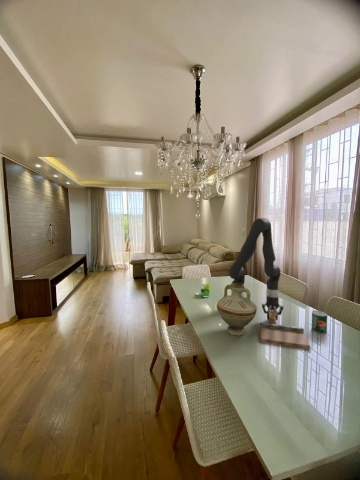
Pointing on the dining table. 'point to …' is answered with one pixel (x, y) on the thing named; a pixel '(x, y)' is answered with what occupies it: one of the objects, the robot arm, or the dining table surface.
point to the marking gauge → (272, 317)
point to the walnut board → (283, 335)
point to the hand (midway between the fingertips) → (272, 319)
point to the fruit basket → (205, 290)
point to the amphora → (236, 309)
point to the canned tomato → (319, 321)
